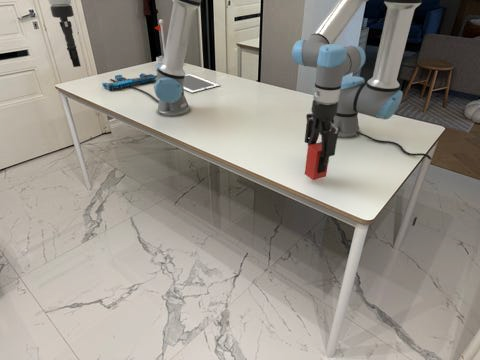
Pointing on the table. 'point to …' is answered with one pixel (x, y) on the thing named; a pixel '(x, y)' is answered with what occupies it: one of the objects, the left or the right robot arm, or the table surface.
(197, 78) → the tablet
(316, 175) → the brick
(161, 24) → the flag stand
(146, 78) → the submachine gun
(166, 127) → the table surface
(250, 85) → the table surface
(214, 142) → the table surface
